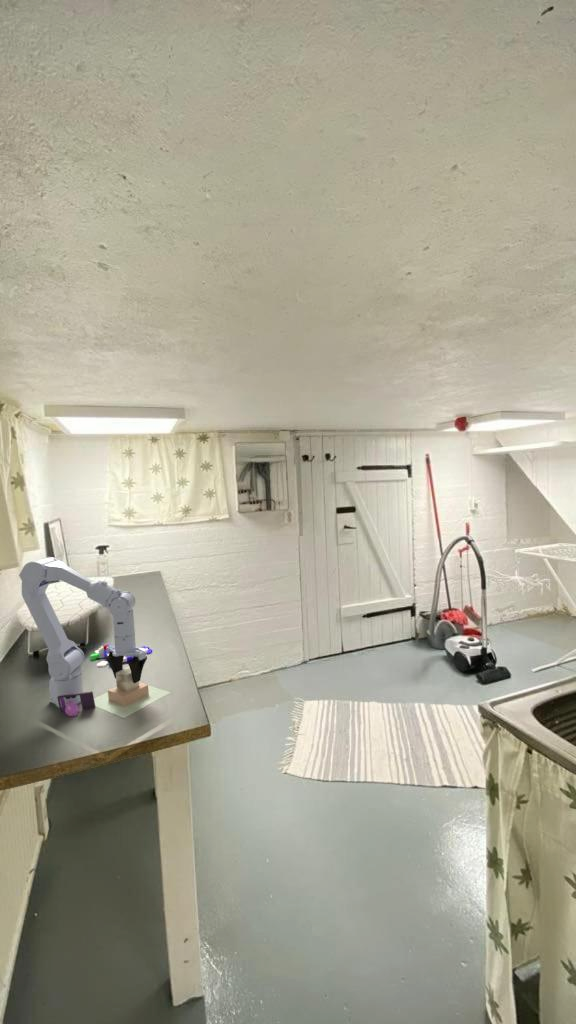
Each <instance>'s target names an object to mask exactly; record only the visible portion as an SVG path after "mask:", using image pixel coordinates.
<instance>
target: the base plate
mask: <svg viewBox="0 0 576 1024" xmlns="http://www.w3.org/2000/svg"><path fill="white" fill-rule="evenodd" d="M147 685H148V684H147ZM148 691H149V695H147V696H145V697H143V698H141V699H139V700H137V701H136V702H134V703H132V704H130V705H128V706H126V707H125V706H122V705H120V704H117V703H114V702H112V701H109V699H108V691H107V692H105V693H103V694H101V695H99V696H96V697H94V702H95V708H99V709H101V710H103V711H105V712H108V713H111V714H113V715H115V716H118V717H119V718H122V719H125V718H127V717H129V716H131V715H132V714H134V713H136V712H138V711H140V710H142V709H144V708H145V707H147V706H149V705H151V704H152V703H155V702H156V701H158V700H160V699H162V698H164V697H166V696H167V695H169V694H171V692H170V691H167V690H163V689H160V688H157V687H155V686H152V685H148Z"/></svg>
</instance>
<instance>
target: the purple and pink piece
mask: <svg viewBox="0 0 576 1024" xmlns="http://www.w3.org/2000/svg"><path fill="white" fill-rule="evenodd" d="M77 695H80V699H81V702H80V703H81V704H80V705H81V709H82V710H86V709H87V710H88V709H94V708H96V706H95V702H94V698H95V697H94V693H93V691H85V692H84V691H83V693H77V694H69V695H62V696H58V697H57V698H58V703H59V707H60V708H59V707H58V708H59V710H60V713H63V712H65V714H66V715H67V716H68V717H77V716H78V715H79V713H80V712H81V710H79V705H78V704H76V703H75V702H69V703H67V704H65V701H64V699H65V698H66V699H70V698H76V696H77ZM60 700H61V703H60ZM61 704H62V707H61Z"/></svg>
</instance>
